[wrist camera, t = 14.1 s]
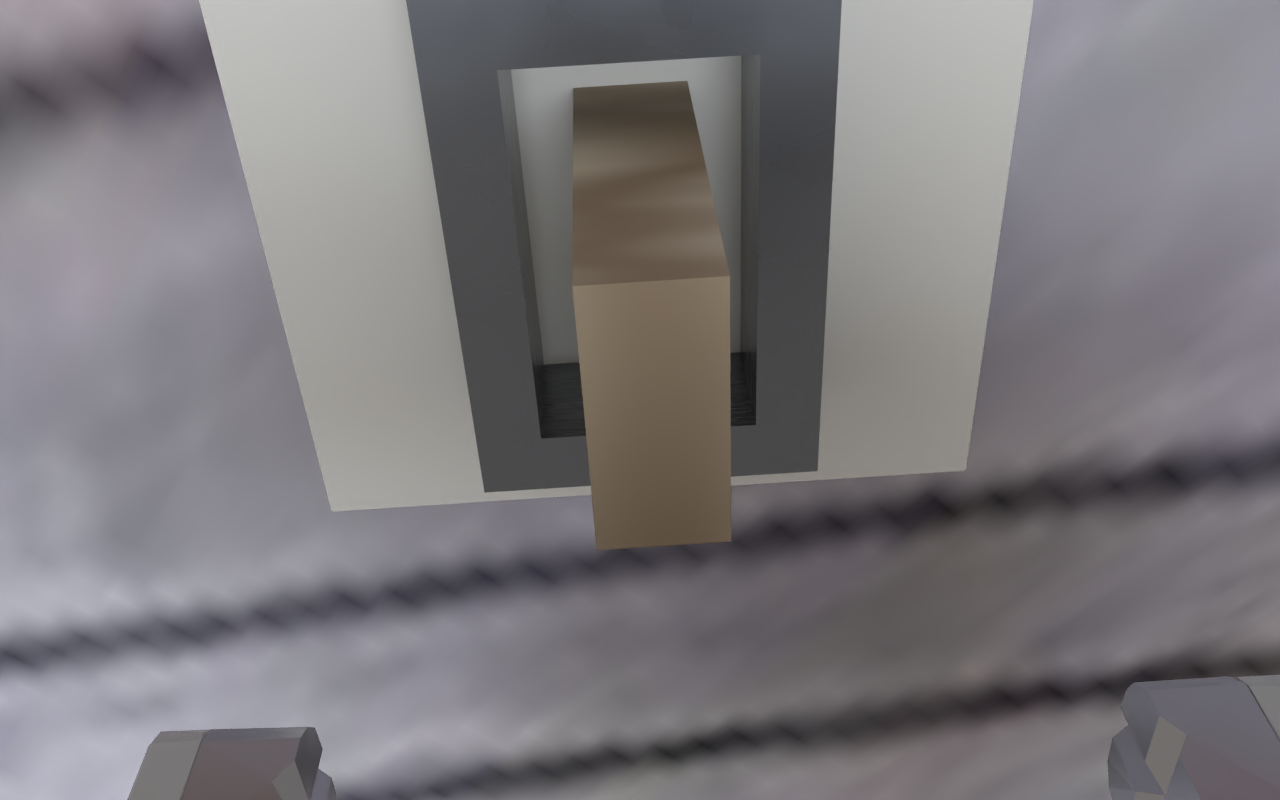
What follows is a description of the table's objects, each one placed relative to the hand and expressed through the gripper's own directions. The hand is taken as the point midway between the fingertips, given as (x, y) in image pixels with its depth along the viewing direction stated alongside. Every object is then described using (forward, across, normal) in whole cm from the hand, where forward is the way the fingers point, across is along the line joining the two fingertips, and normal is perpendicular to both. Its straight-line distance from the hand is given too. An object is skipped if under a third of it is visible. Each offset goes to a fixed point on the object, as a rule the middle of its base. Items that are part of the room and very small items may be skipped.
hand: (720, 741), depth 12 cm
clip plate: (+14, -1, 0) cm, 14 cm away
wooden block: (+12, -1, 0) cm, 12 cm away
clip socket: (+12, -1, 0) cm, 12 cm away
